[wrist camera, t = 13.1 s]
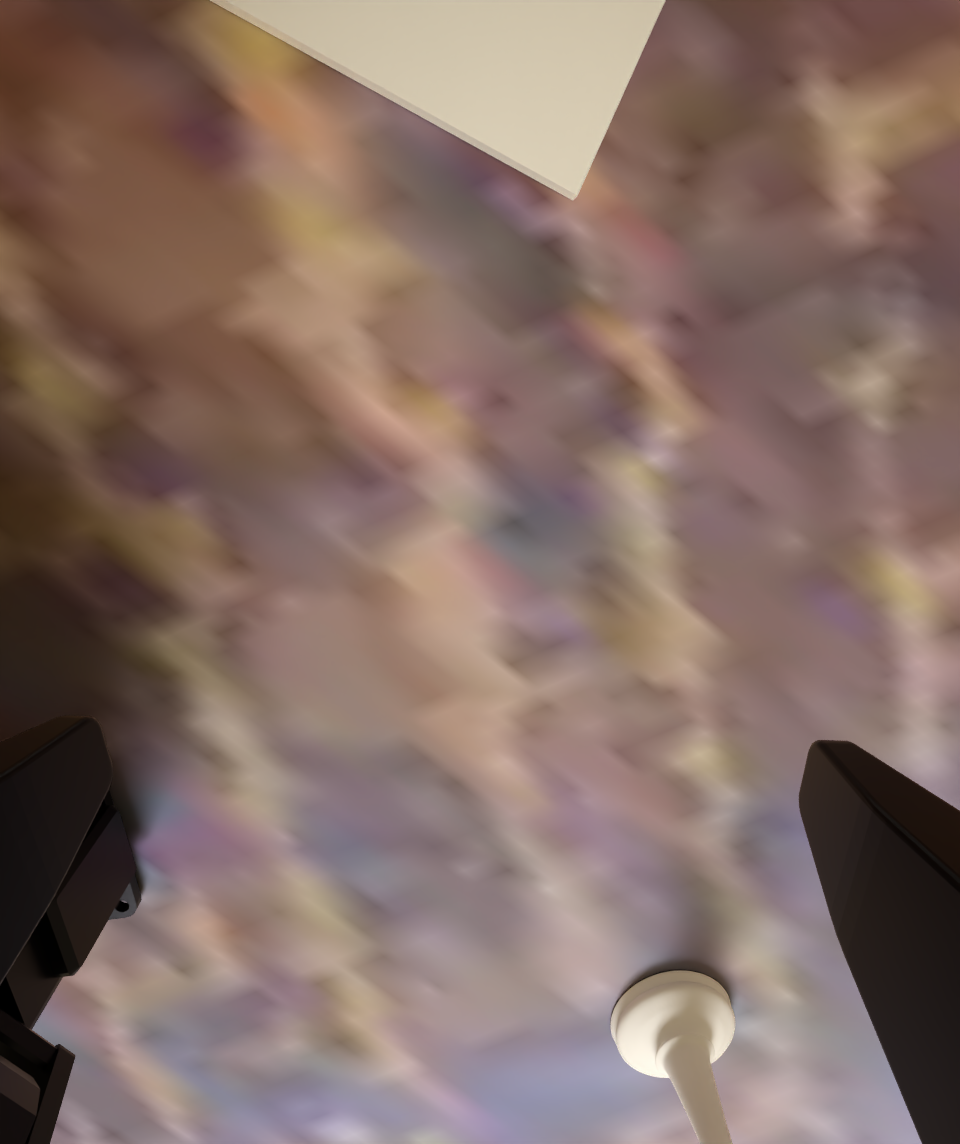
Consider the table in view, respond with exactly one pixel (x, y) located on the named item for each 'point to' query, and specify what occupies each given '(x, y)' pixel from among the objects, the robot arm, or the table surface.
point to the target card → (483, 67)
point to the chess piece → (679, 1041)
